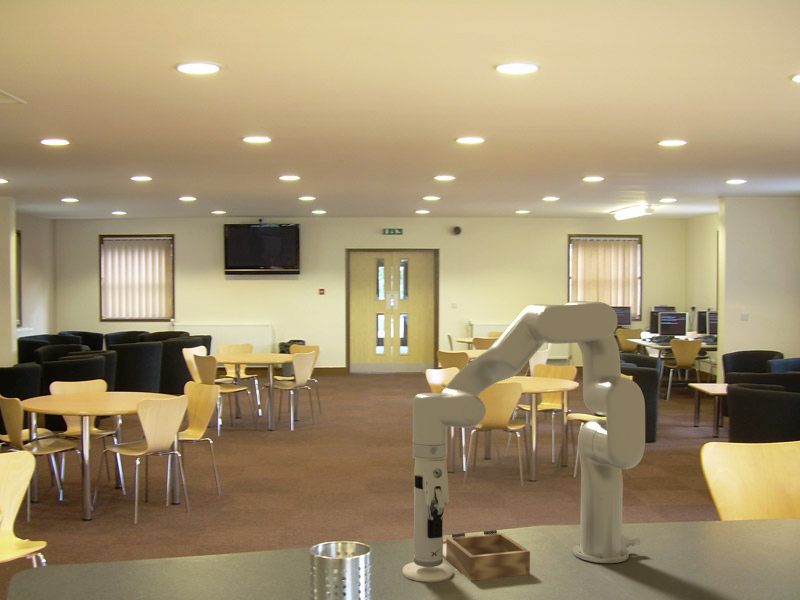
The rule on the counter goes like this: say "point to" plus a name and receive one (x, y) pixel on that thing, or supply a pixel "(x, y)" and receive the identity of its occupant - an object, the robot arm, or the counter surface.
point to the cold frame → (486, 555)
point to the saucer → (427, 572)
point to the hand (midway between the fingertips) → (429, 532)
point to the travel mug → (424, 531)
